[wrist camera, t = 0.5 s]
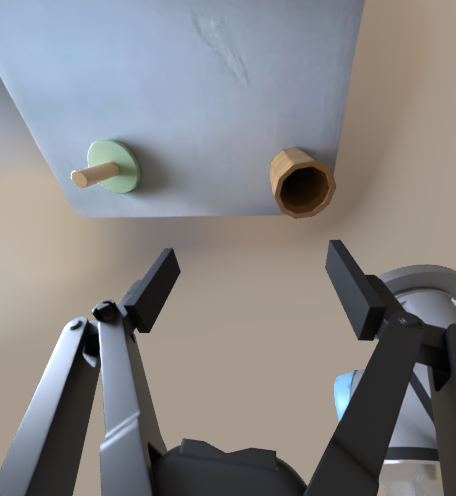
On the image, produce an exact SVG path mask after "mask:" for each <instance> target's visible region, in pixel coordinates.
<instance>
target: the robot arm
mask: <svg viewBox="0 0 456 496" xmlns="http://www.w3.org/2000/svg"><path fill="white" fill-rule="evenodd" d="M325 268H326V271H327V273H328V275H329V277H330V279H331V282H332V284H333V286H334V288H335V290H336V292H337V295H338V297H339V299H340V301H341V303H342V305H343V308H344V310H345V312H346V314H347V317H348V319H349V321H350V323H351V325H352V327H353V330H354V332H355V334H356V336H357V338H358V340H367V341H373V340H374V338H375V335H377V337H378V339H379V342H378V344H377V346H376V348H375V350H374V352H373V354H372V356H371V358H370V360H369V362H368V365H367V367H366V369H365V370H359V371H358V370H354V371H353V372H350V373H347V374H343V375H340V376H338V377H337V378H336V381H335V385H334V398H335V405H336V410H337V414H338V419H339V424H338V426H337V428H336V430H335V432H334V434H333V436H332V438H331V440H330V442H329V444H328V446H327V448H326V450H325V452H324V454H323V456H322V458H321V460H320V462H319V464H318V466H317V468H316V470H315V472H314V474H313V477H312V479H311V480H310V483H309V485H308V487H307V485H306V484H305V482H304V481H303V480H302V478H301V477H300V476H299V475H298V473H297V472H296V471H295V470H294V469H293V468H292V467H291V466H289V465H288V464H287V463H285V462H284V461H283V460H281V459H279V458H277V457H276V451H272V450H265V449H257V448H249V449H244V450H240V451H235V452H231V453H224V452H223V451H221V450H219V449H217V448H215V447H213V446H211V445H210V444H208V443H206V442H204V441H198V440H191V439H182V443H181V445H180V446H177V447H175V448H173V449H171V450H169V451H168V452H167V449H166V446H165V444H164V442H163V439H162V437H161V434H160V430H159V426H158V422H157V419H156V415H155V411H154V407H153V404H152V399H151V395H150V391H149V388H148V384H147V380H146V376H145V372H144V368H143V364H142V360H141V356H140V353H139V349H138V345H137V341H136V337H135V335H134V333H133V332H134V330H135V328H137V330H138V331H139V333H150V331H151V329H152V327H153V325H154V323H155V321H156V319H157V317H158V315H159V313H160V311H161V309H162V307H163V305H164V303H165V301H166V299H167V297H168V295H169V294H170V292H171V290H172V288H173V286H174V284H175V282H176V280H177V278H178V276H179V274H180V268H179V266H178V262H177V259H176V256H175V253H174V250H173V248H165V249H164V250H163V252H162V253H161V254H160V256H159V257H158V258H157V260H156V261H155V263H154V264H153V265H152V267H151V268H150V269H149V271H148V272H147V273H146V275H145V276H144V278H143V279H142V280H138V281H137V282H135V283H134V284H133V285H132V286H131V288H130V289H129V291H127V293H126V294H125V295H124V297H123V298H122V299H121V301H120V302H119V303H118V304H117V305H116V304H115V302H114V301H113V300H105V301H103V302H101V303H99V304H98V305H96V306H95V307H94V309H93V311H92V313H93V315H94V316H95V318H96V319H94V320H91V321H88V319H87V318H86V317H83V316H82V317H78V318H76V319H74V320H72V321H71V322H69V323H68V324H67V325H66V326H65V328H64V330H63V332H62V334H61V336H60V339H59V341H58V343H57V345H56V347H55V350H54V352H53V354H52V356H51V358H50V361H49V363H48V365H47V367H46V369H45V372H44V374H43V376H42V378H41V381H40V383H39V385H38V387H37V389H36V392H35V394H34V396H33V398H32V401H31V403H30V405H29V407H28V409H27V411H26V414H25V416H24V418H23V420H22V423H21V425H20V427H19V429H18V431H17V433H16V436H15V438H14V440H13V442H12V444H11V447H10V449H9V451H8V453H7V456H6V458H5V460H4V462H3V465H2V467H1V469H0V496H72V495H73V491H74V487H75V482H76V478H77V473H78V469H79V464H80V459H81V455H82V450H83V445H84V441H85V436H86V432H87V427H88V423H89V418H90V413H91V409H92V404H93V400H94V395H95V390H96V385H97V381H98V376H99V372H100V368H101V372H102V387H103V403H104V417H105V433H106V434H105V440H104V441H103V442H102V443H101V446H100V471H101V495H102V496H377V493H378V488H379V480H380V482H381V483H382V485H383V487H384V490H385V493H386V496H456V299H455V298H454V297H453V296H452V295H450V294H449V293H448V292H447V291H445V290H442V289H440V288H435V287H426V286H424V287H412V288H407V289H404V290H400V291H398V292H395V293H393V294H392V293H391V291H390V290H389V288H387V286H386V285H385V283H384V282H383V281H382V280H381V279H380V278H378V277H377V276H375V275H364V273H363V272H362V270H361V269H360V267H359V266H358V264H357V263H356V262H355V260H354V259H353V257H352V256H351V254H350V253H349V251H348V250H347V249H346V247H345V246H344V244H343V243H342V241H341V240H330V241H329V248H328V254H327V261H326V267H325ZM424 407H425V408H424Z"/></svg>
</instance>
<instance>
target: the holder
mask: <svg viewBox="0 0 456 496" xmlns="http://www.w3.org/2000/svg"><path fill="white" fill-rule="evenodd" d="M88 164H89V167H87V168H83V169H80V170H76V171H73V172H72V174H71V178H72V180H73V182H74V183H75V184H76V185H77V186H78V187H81V188H85V187H88V186H91V185H93V184H96V183H98V182H99V183H100V184H101V185H102V186H103V187H104V188H106V189H107V190H109V191H111V192H114V193H119V194H124V193H128V192H130V191H132V190H133V189H135V188H136V187H137V185H138V184H139V182H140V177H141V171H140V166H139V163H138V161H137V159H136V157H135V155H134V154H133V153H132V152H131V150H130V149H129V148H128V147H126V146H125V145H124V144H122V143H120V142H118V141H116V140H113V139H103V140H98V141H96V142H94V143H93V144H92V145H91V147H90V149H89V151H88Z"/></svg>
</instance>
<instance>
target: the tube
mask: <svg viewBox="0 0 456 496" xmlns="http://www.w3.org/2000/svg"><path fill="white" fill-rule="evenodd" d="M306 167H307V170H306V173H305V177H304V178H303V179H302V180H301V181H300V182H299V183H297V184H296V185H292V186H286V187H285V186H283V185H282V184H283V181H284V180H285V179H286V178H287V177H288V176H289V175H290V174H291V173H292V172H293V171H295V170H296V169H301V168H306ZM269 175H270V180H271V184H272V189H273V194H274V198H275V200H276V202H277V204H278V206H279V209H280V211H281V212H283V213H285V214H287V215H289V216H291V217H294V218H296V219H297V218H304V217H312V216H315V215H316V214H317V213H319V212H320V211H321V210H323V209H324V208H325V207H327V206H328V204H329V203H330V201H331V199H332V196H333V194H334V191H335V189H336V184H335V180H334V177H333V173H332V170H331V169H330V168H329V167H327V166H326V165H324V164H323V163H321V162H320V161H318V160H317V159H315V158H314V157H312V156H311V155H309V154H308V153H306V152H304V151H302V150H300V149H299V148H297V147H294V148H290V149H285V150H282V151H281V152H280V153H279V154H278V155H277V156H276V157H275V158H274V159H273V160H272V163H271V167H270V172H269Z"/></svg>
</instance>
